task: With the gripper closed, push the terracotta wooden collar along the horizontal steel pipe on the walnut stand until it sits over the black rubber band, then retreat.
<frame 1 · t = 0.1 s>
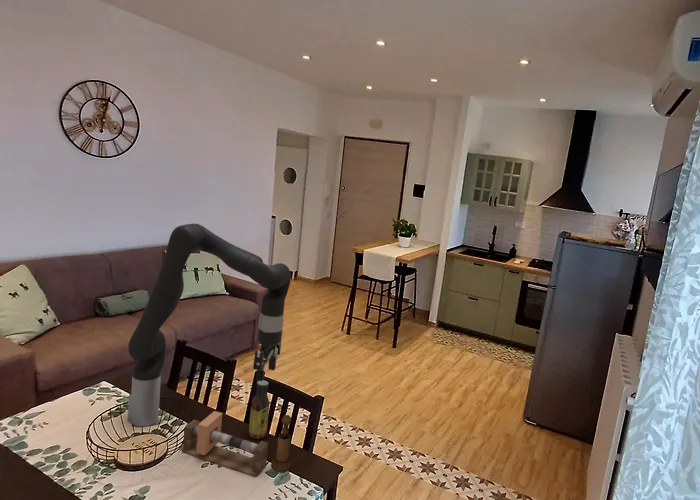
hand: (265, 374, 153), 29 cm above the table, fingers open, 8 cm apart
sauce bottle: (257, 435, 171), on the table
collar: (209, 432, 155), point 8 cm above the table, slide at 0.0 cm
pipe stand: (224, 458, 155), on the table
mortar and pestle: (281, 467, 155), on the table
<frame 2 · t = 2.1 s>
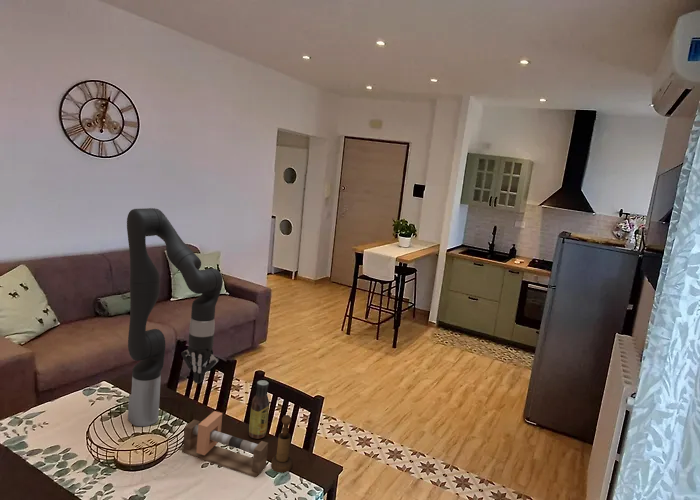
hand: (198, 382, 154), 24 cm above the table, fingers closed
nothing on the table moved.
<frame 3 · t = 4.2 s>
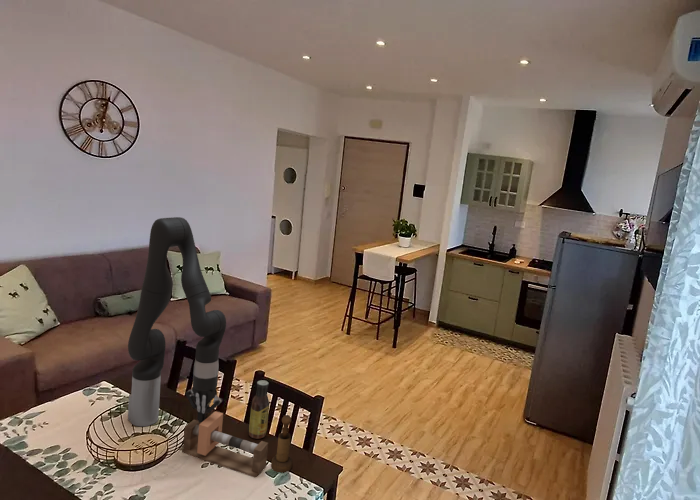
hand: (202, 421, 156), 11 cm above the table, fingers closed
collar: (210, 432, 155), point 8 cm above the table, slide at 0.3 cm, touching gripper
everything else where it was.
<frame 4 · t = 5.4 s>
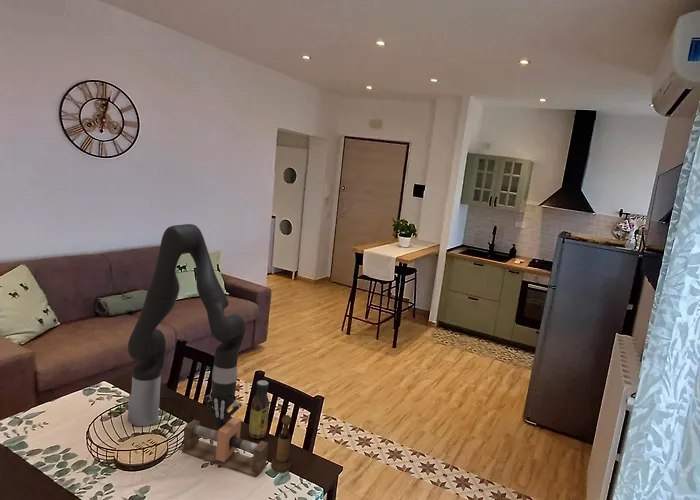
hand: (220, 427, 154), 11 cm above the table, fingers closed
collar: (228, 438, 154), point 8 cm above the table, slide at 7.1 cm, touching gripper
everything else where it was.
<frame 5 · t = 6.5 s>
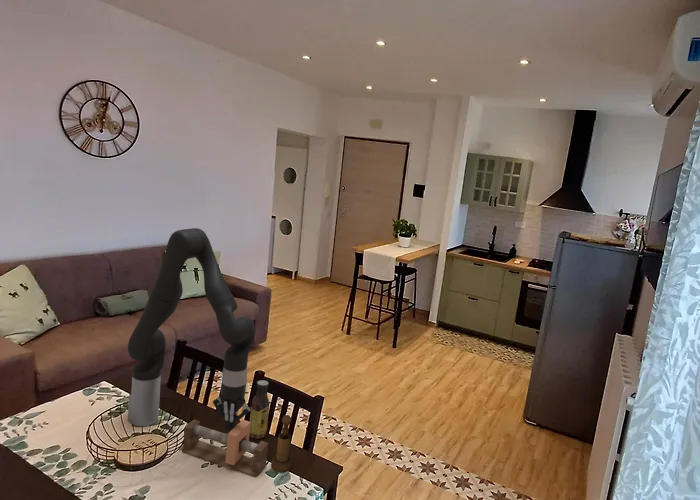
hand: (229, 430, 153), 11 cm above the table, fingers closed
collar: (238, 441, 153), point 7 cm above the table, slide at 10.5 cm, touching gripper
everything else where it was.
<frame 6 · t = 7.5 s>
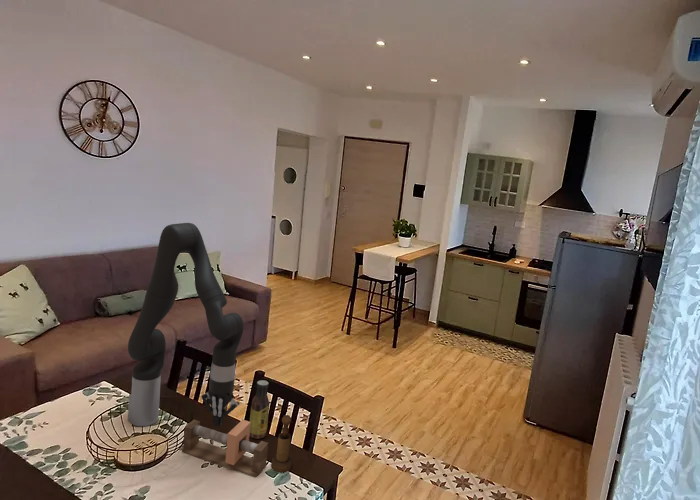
hand: (218, 425, 154), 11 cm above the table, fingers closed
collar: (238, 441, 153), point 7 cm above the table, slide at 10.5 cm
everything else where it was.
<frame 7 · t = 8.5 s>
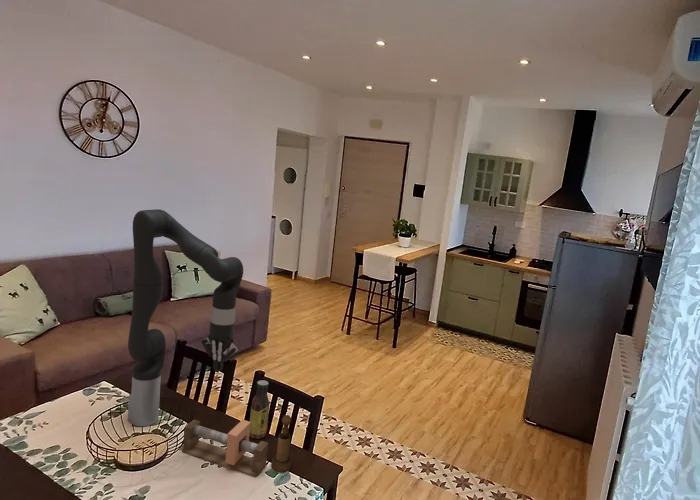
hand: (217, 370, 155), 28 cm above the table, fingers closed
nothing on the table moved.
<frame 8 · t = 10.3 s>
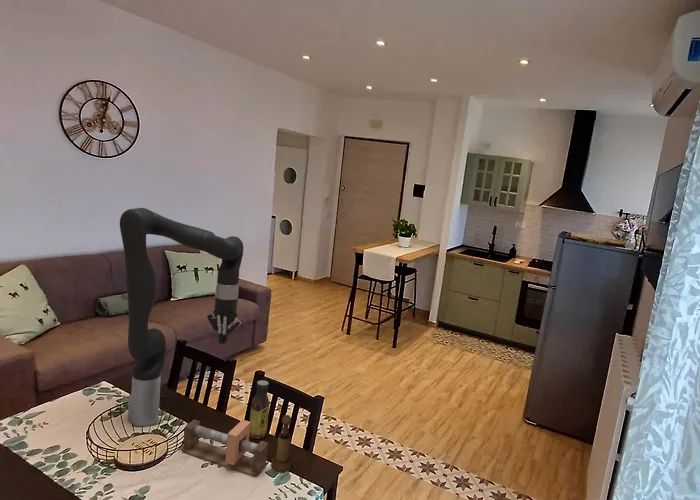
hand: (222, 343, 166), 32 cm above the table, fingers closed
nothing on the table moved.
at the end: collar slide at 10.5 cm; the gripper is holding nothing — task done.
